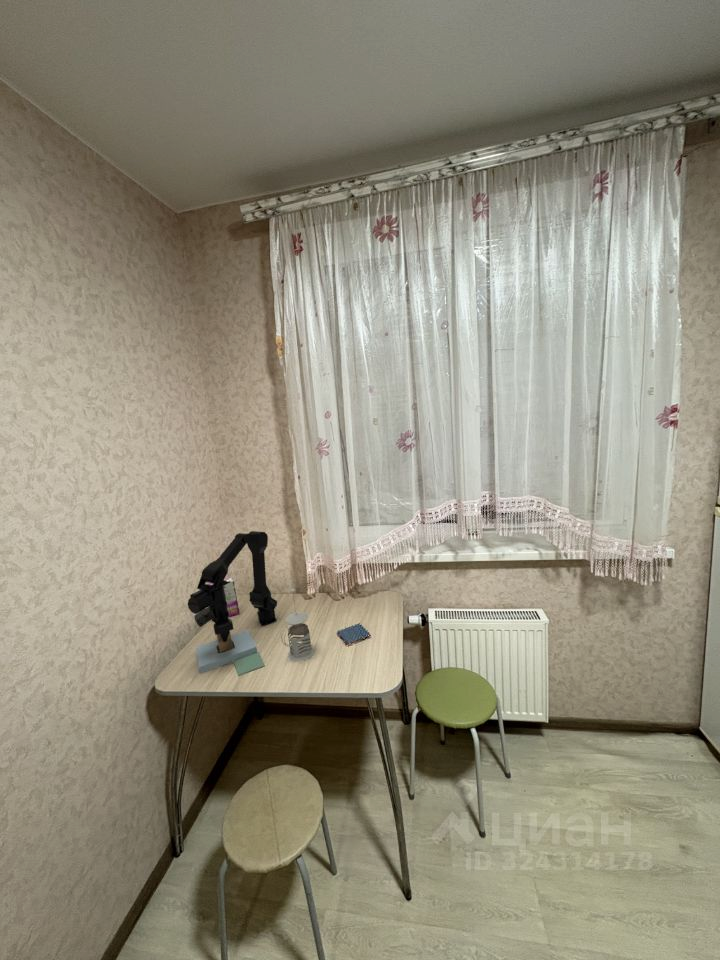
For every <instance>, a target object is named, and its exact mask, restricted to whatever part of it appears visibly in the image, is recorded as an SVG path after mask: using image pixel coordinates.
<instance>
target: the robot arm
mask: <svg viewBox="0 0 720 960" xmlns="http://www.w3.org/2000/svg"><path fill="white" fill-rule="evenodd" d="M268 537H269V536H268V534H267V533H266V532H264V531H259V530H258V531H256V530H254V531H253V530H251V531H249V532H248V533H243V532H242V533H241V532H239V533H238V532H237V533H236V534H235V536H234V539H232V541H231V542H230V543H229V544H228V546H227V547H226V548H225V549H224V550H223V552H222V553H221V554H220V556H219V557H218V558H217V559H215V560H214V561H212V562H210V563H208V564H207V565H206V566H205V567H204V568H203V569H202V571H201V575H200V578H199V582H198V585H197V588H196V589H197V591H195V592H193V593H191V594H190V595H189V596H190V597H189V598H188V600H187V608H188V610H189V611H190V612H191V613H193V614H195V615H194V617H193V618H194V621H195V622H196V623H195V624H196V626H198V627H200V628H201V627H203V626H204V625H206V624H207V623H208V622H210V621H211V622H212V623H214V624H213V625H212V626H213V631H214V634H215V636H217V635H218V634H220V635H221V637H222V640H223V642H226V641H227V639H228V635H229V632H230V633H231V631H232V630H234V623H233V621H232V619H231V618H230V617H229V618H228V616H229V612H228V609H227V601H226V597H225V591H224V585H226V584H228V582H227V581H225V580H224V579H226V576H227V575H228V573H229V567H230V565H231V564H232V563H233V561H234V560H235V559H236V557H238V555H239V554H240V553H241V551H242V550H243V549H244V548H245V546H246V545H247V547H248V550H250V551H249V552H251V559H252V572H253V573H252V574H253V589H252V590H251V591H250V592H249V602H250V603H251V605H252V606H253V608H254V609H257V612H256V616H257V621H258V623H259V624H260V626H266V625H269V624H273V623H276V622H277V621H278V620H277V618H276V614H275V611H276V610H275V609H276V607H277V605H278V601H277V600H276V599H274V598H273V597H272V593H271V592H272V591H271V590H270V589H269V587H268V585H267V576H266V562H265V561H266V559H265V557H266V556H265V551H266V549H267V548H268V542H269V538H268ZM206 583H207V584H206ZM209 583H213V584H212V585H208V584H209Z"/></svg>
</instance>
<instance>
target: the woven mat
mask: <svg viewBox="0 0 720 960" xmlns="http://www.w3.org/2000/svg"><path fill="white" fill-rule="evenodd" d="M336 635H337V637H339V639H341V641H342V643H343V644H344V645H345V646H347V645H348V646H352V645H353V644H352V643H354V644H357V643H358V642H357V641H359V642H361V641H360V640H362V639H365V638H366V637H367V638H368V637H370V638H371V636H372V635H371V634H370V632H369V631H368V630H367V629H366V628H365V626H363V624H361V622H359V623H355V624H354V625H351V626H348V627H345V628H342V629H340V630H337V632H336ZM368 635H369V636H368ZM360 638H361V639H360ZM365 640H366V639H365ZM362 641H363V640H362Z"/></svg>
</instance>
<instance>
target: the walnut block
mask: <svg viewBox="0 0 720 960" xmlns="http://www.w3.org/2000/svg"><path fill="white" fill-rule="evenodd" d="M231 635H232V634H231V631H230V632H229V635H228V639H227V641H226V642H223V640H222V637H221V635H220V634H218V635H216V638H217V639H216V640H218V646H219V650H220V651H219V654H220V653H223V652H226V651H228V650H231V649H234V646H232V640H231Z"/></svg>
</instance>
